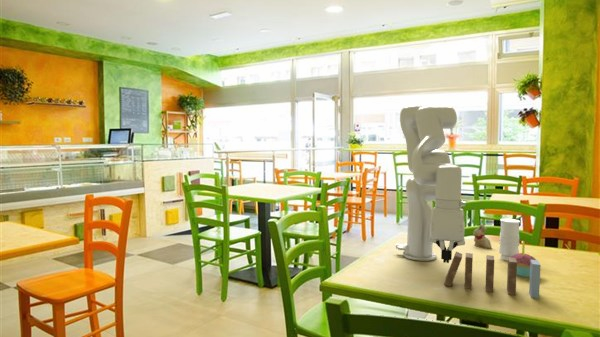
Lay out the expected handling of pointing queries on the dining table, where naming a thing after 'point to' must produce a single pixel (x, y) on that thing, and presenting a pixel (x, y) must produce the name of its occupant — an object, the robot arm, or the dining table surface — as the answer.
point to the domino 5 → (534, 279)
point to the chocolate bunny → (481, 238)
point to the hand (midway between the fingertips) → (446, 261)
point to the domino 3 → (489, 273)
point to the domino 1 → (453, 269)
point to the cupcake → (523, 262)
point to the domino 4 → (511, 276)
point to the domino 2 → (468, 271)
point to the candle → (509, 238)
